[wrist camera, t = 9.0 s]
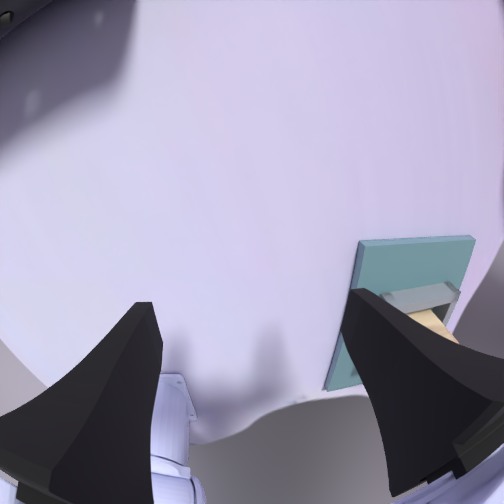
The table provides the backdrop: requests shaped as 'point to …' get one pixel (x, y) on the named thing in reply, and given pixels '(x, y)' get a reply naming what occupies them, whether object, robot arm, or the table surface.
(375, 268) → the dock
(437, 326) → the peg
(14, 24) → the muzzle brake
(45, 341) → the table surface
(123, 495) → the robot arm
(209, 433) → the table surface
